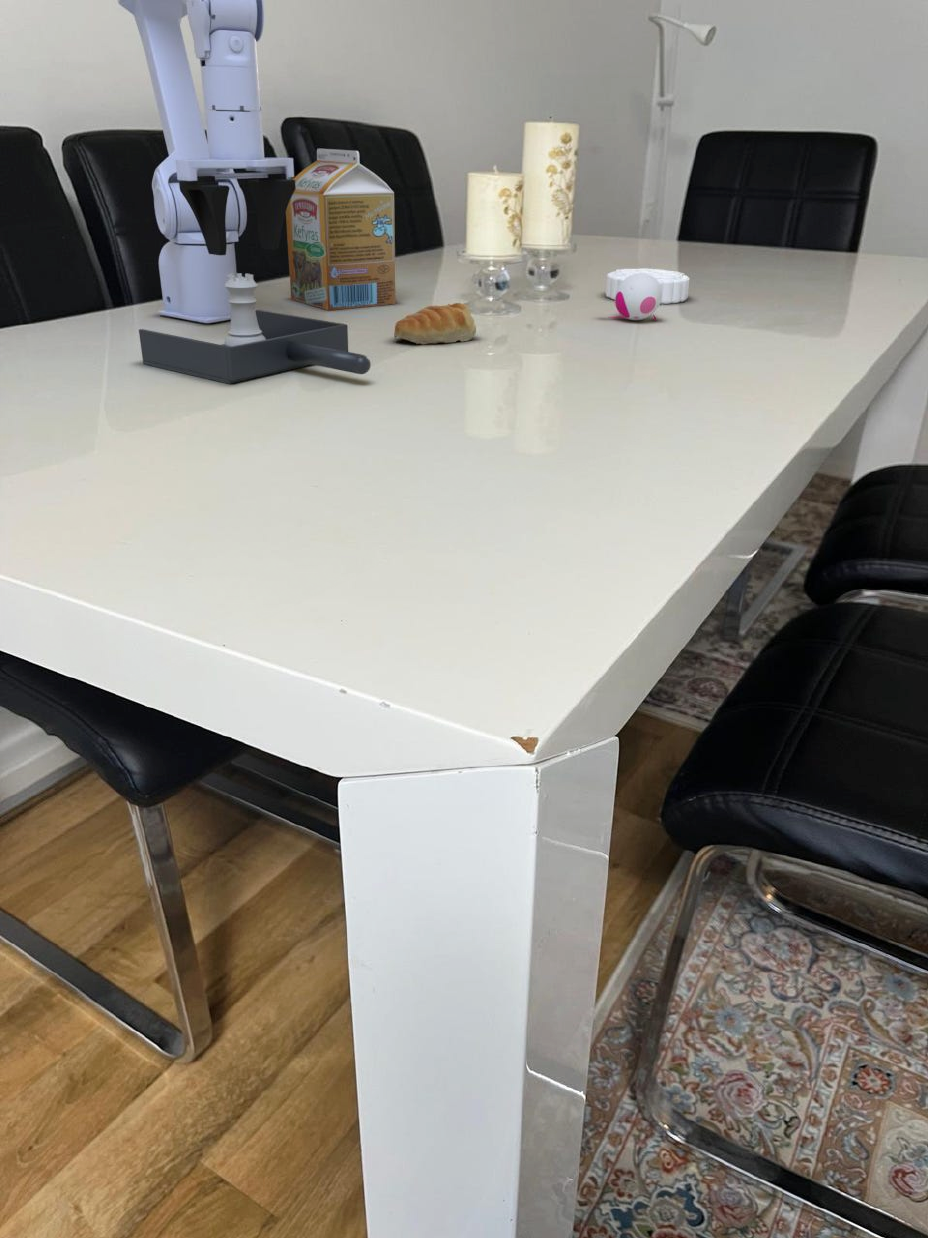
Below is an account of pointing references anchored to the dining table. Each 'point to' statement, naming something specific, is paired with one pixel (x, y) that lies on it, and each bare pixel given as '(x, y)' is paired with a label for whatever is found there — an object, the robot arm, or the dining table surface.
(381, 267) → the milk carton
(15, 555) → the dining table surface
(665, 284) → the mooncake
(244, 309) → the rook chess piece
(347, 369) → the scoop
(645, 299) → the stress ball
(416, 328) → the pastry
